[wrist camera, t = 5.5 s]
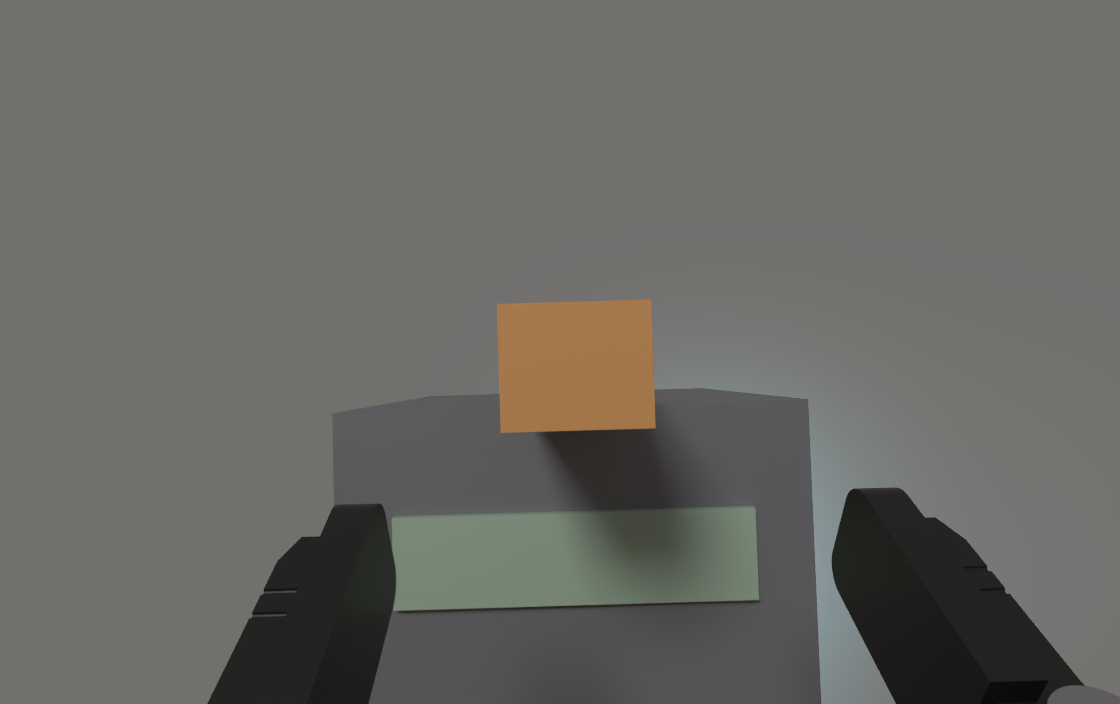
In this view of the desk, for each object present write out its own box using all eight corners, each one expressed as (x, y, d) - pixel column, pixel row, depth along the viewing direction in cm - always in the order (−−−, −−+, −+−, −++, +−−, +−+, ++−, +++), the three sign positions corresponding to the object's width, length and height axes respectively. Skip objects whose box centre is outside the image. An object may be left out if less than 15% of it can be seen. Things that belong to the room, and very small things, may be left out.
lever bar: (681, 427, 12) (675, 247, 12) (475, 433, 12) (470, 253, 12) (596, 389, 41) (594, 336, 41) (534, 391, 41) (533, 338, 41)
